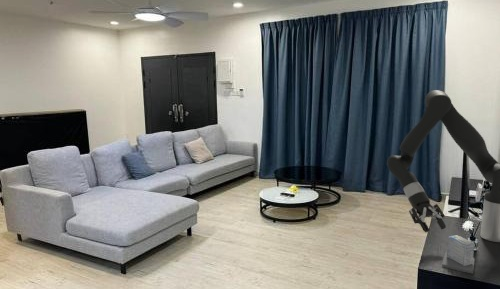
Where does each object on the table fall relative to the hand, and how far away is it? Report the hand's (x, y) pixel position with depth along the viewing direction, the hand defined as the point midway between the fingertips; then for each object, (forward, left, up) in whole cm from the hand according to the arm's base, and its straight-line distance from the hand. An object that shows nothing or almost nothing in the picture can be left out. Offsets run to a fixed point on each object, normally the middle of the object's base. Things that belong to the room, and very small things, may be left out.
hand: (435, 230), depth 148 cm
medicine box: (+10, +6, -8) cm, 14 cm away
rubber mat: (+10, +6, -9) cm, 15 cm away
